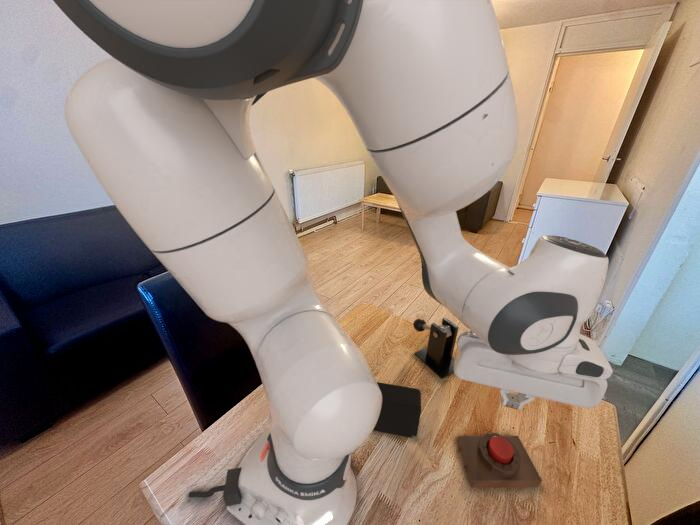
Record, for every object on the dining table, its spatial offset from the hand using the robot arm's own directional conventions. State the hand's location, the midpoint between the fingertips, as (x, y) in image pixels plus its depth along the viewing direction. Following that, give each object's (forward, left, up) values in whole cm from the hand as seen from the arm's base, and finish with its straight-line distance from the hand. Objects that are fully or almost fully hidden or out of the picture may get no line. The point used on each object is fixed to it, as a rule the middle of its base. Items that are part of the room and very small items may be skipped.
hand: (509, 404), depth 48 cm
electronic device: (-19, +1, -16) cm, 25 cm away
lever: (-13, +25, -8) cm, 29 cm away
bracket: (-10, +22, -16) cm, 29 cm away
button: (+1, -1, -12) cm, 12 cm away
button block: (+1, -1, -16) cm, 16 cm away
